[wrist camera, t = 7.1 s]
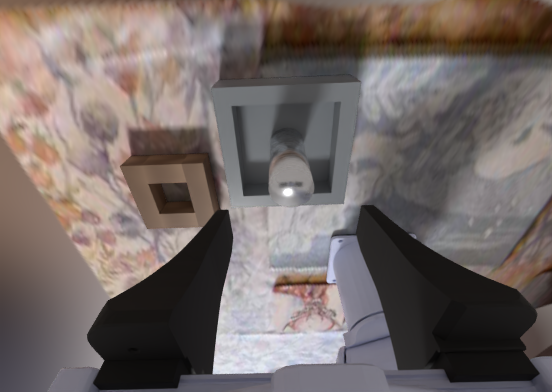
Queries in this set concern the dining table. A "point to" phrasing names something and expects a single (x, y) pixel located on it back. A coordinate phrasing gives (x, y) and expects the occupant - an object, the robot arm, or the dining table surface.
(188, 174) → the frame
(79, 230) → the dining table surface
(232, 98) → the tray
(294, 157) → the pin
